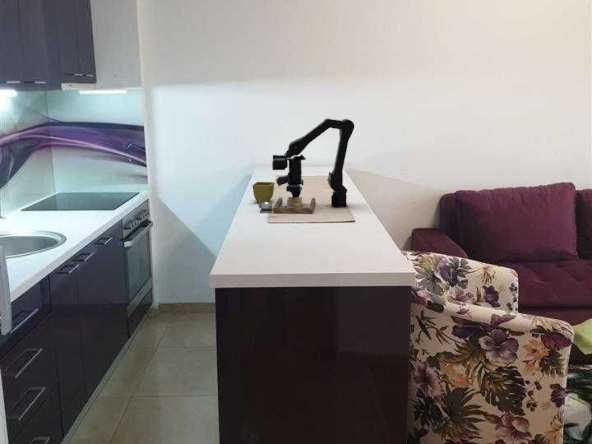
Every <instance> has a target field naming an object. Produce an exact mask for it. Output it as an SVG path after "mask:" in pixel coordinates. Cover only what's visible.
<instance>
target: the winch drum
mask: <svg viewBox="0 0 592 444" xmlns="http://www.w3.org/2000/svg"><path fill="white" fill-rule="evenodd" d="M258 209H260V210H259V213H260V214H272V213H273V203H272V201H269V202H261V198H259V203H258Z"/></svg>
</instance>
